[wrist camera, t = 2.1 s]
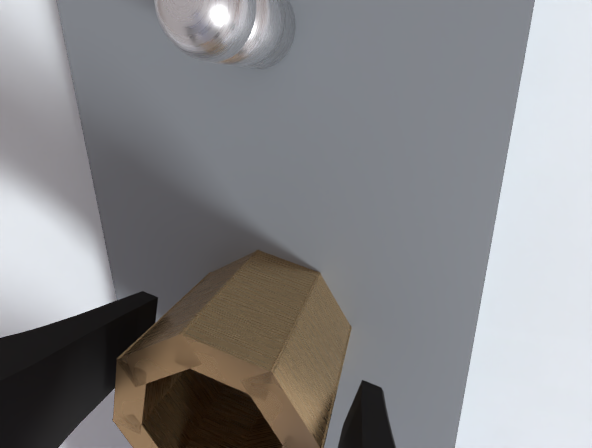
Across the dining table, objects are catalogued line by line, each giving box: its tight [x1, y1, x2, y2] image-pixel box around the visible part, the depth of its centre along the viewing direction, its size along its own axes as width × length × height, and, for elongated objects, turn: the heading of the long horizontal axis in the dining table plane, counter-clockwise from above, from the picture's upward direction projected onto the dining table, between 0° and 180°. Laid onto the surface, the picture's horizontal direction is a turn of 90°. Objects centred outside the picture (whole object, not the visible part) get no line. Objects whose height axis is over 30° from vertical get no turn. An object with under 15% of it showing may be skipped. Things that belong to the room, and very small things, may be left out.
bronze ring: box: [112, 250, 352, 448], centre depth 12 cm, size 6×6×5 cm
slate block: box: [57, 0, 535, 448], centre depth 13 cm, size 20×14×2 cm
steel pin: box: [154, 0, 296, 69], centre depth 9 cm, size 2×2×4 cm
